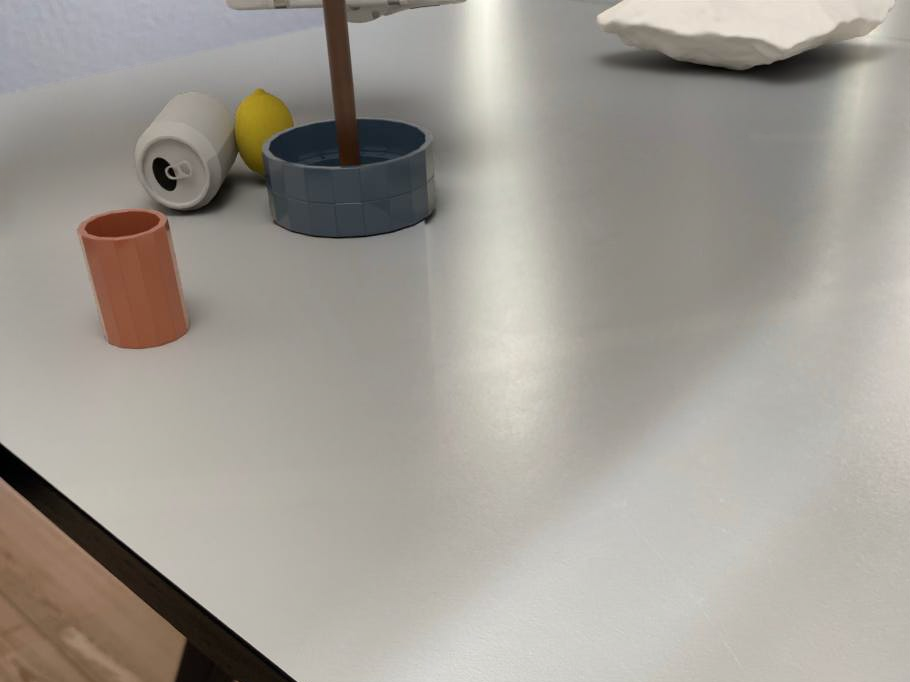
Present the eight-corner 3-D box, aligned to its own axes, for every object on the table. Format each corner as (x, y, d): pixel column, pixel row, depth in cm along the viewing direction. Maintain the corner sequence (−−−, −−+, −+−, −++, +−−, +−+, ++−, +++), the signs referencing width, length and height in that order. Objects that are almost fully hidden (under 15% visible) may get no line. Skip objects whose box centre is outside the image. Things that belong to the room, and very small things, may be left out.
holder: (99, 357, 77) (68, 242, 72) (115, 321, 82) (87, 210, 76) (184, 353, 77) (159, 237, 72) (195, 317, 82) (173, 206, 77)
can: (147, 102, 103) (112, 142, 94) (221, 78, 102) (193, 115, 93) (183, 183, 108) (154, 228, 99) (255, 160, 106) (231, 203, 97)
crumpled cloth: (931, 70, 122) (946, -27, 118) (612, 81, 121) (615, -16, 117) (859, 56, 142) (870, -28, 138) (585, 65, 142) (587, -18, 137)
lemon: (236, 177, 106) (221, 86, 101) (292, 168, 108) (280, 77, 102) (251, 194, 102) (236, 100, 97) (309, 184, 104) (298, 91, 99)
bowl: (266, 248, 92) (254, 172, 88) (279, 190, 103) (269, 121, 99) (438, 239, 92) (434, 163, 88) (434, 183, 103) (430, 113, 99)
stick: (344, 210, 96) (314, -61, 83) (344, 203, 98) (316, -65, 85) (364, 209, 96) (338, -62, 83) (365, 202, 98) (339, -66, 85)
